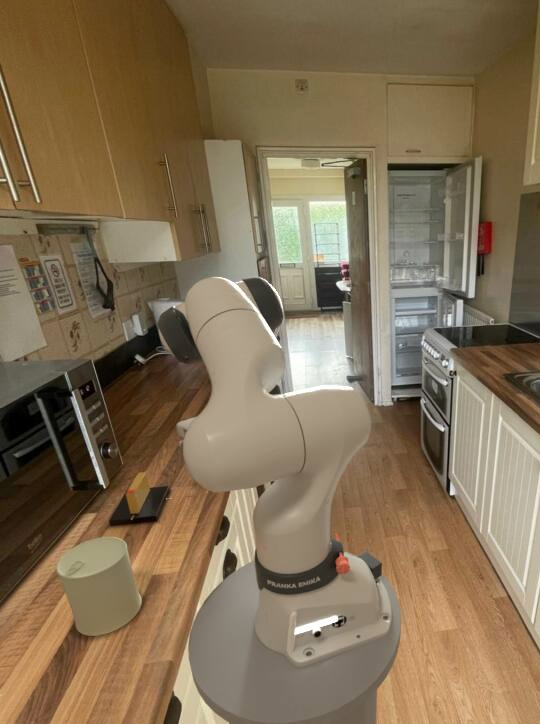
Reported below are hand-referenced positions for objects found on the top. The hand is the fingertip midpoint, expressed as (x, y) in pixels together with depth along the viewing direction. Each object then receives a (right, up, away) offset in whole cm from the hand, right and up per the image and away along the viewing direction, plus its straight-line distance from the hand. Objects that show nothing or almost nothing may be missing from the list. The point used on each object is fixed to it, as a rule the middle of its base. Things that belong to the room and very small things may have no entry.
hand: (183, 446), depth 103 cm
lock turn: (-6, -12, -8) cm, 15 cm away
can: (+4, -25, -34) cm, 42 cm away
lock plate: (-6, -13, -7) cm, 16 cm away
